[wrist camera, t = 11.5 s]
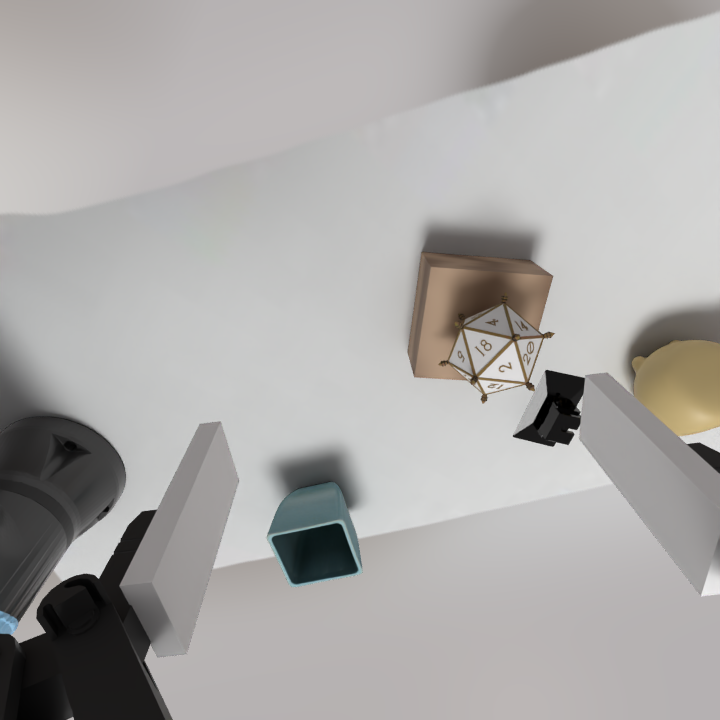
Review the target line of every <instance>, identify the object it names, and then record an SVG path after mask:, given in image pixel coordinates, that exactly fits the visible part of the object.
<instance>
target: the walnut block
mask: <svg viewBox="0 0 720 720" xmlns="http://www.w3.org/2000/svg"><path fill="white" fill-rule="evenodd" d="M552 278H553V276H552V275H551V274H549V273H548V272H547V271H545V270H544V269H542V268H541V267H539V266H538V265H537V264H535V263H534V262H532V261H531V260H521V259H507V258H494V257H481V256H468V255H455V254H441V253H428V252H422V253H421V261H420V268H419V275H418V282H417V289H416V296H415V303H414V311H413V318H412V325H411V332H410V339H409V346H408V356H409V359H410V363H411V367H412V370H413V374H414V377H419V378H436V379H452V380H466V379H465V378H464V377H463V376H462V375H461V374H459V373H458V372H457V371H456V370H455V369H454V368H452V367H451V366H450V365H449V364H447V365H446V366H440V365H438V364H439V363H440V362H441V361H444V360H445V361H447V360H448V357H449V355H450V352H451V350H452V347H453V345H454V342H455V340H456V337H457V334H458V332H459V329H460V328H459V329H458V328H457V327H455V323H454V322H458V321H459V322H461V323H462V322H463V320H460V319H459V315H458V313H459V314H464V316H465V318H467V317H469V316H472V315H474V314H476V313H479V312H481V311H483V310H485V309H488V308H490V307H492V306H495V305H497V304H499V303H501V302H502V295H503V294H504V293H505V292H506V293H507V296H508V298H507V301H506V304H507V305H508V306H510V307H511V308H512V309H513V310H514V311H515V312H517V313H518V314H519V315H520V316H521V317H523V318H524V319H525V320H526V321H527V322H528V323H530V324H531V325H532V326H533V327H534V328H535V329H537V330H539V326H540V322H541V319H542V315H543V311H544V308H545V304H546V300H547V297H548V293H549V289H550V286H551V282H552Z"/></svg>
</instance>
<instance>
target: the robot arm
mask: <svg viewBox="0 0 720 720" xmlns="http://www.w3.org/2000/svg"><path fill="white" fill-rule="evenodd" d="M579 439H580V441H581V442H582V443H583V445H584V446H585V447H586V448H587V450H588V451H589V452H590V454H591V455H592V456H593V458H594V459H595V460H596V461H597V463H598V464H599V465H600V467H601V468H602V469H603V470H604V472H605V473H606V474H607V476H608V477H609V478H610V479H611V481H612V482H613V483H614V485H615V486H616V487H617V489H618V490H619V491H620V492H621V494H622V495H623V496H624V498H625V499H626V500H627V501H628V503H629V504H630V505H631V507H632V508H633V509H634V510H635V512H636V513H637V514H638V516H639V517H640V518H641V519H642V521H643V522H644V523H645V525H646V526H647V527H648V528H649V530H650V531H651V532H652V534H653V535H654V536H655V538H656V539H657V540H658V541H659V543H660V544H661V545H662V547H663V548H664V549H665V551H666V552H667V553H668V554H669V556H670V557H671V558H672V560H673V561H674V562H675V563H676V565H677V566H678V567H679V569H680V570H681V571H682V573H683V574H684V575H685V576H686V578H687V579H688V580H689V581H690V583H691V584H692V585H693V587H694V588H695V589H696V591H697V592H698V593H699V594H700V596H708V595H717V594H720V453H719V452H717V451H715V450H713V449H711V448H709V447H707V446H705V445H703V444H701V443H692V444H686V443H685V442H684V441H683V440H681V439H680V438H679V437H678V436H677V435H676V434H675V433H674V432H673V431H671V430H670V429H669V428H668V427H667V426H666V425H665V424H664V423H663V422H661V421H660V420H659V419H658V418H657V417H656V416H655V415H654V414H653V413H652V412H650V411H649V410H648V409H647V408H646V407H645V406H644V405H643V404H642V403H640V402H639V401H638V400H637V399H636V398H635V397H634V396H633V395H632V394H630V393H629V392H628V391H627V390H626V389H625V388H624V387H623V386H622V385H620V384H619V383H618V382H617V381H616V380H615V379H614V378H613V377H612V376H611V375H609V374H608V373H599V374H592V375H585V384H584V394H583V404H582V413H581V423H580V433H579ZM125 480H126V477H125V470H124V467H123V464H122V461H121V459H120V458H119V456H118V454H117V453H116V451H115V450H114V449H113V448H112V446H111V445H110V444H109V443H108V442H107V441H105V440H104V439H103V438H102V437H101V436H99V435H98V434H97V433H95V432H93V431H92V430H90V429H88V428H86V427H84V426H82V425H80V424H78V423H75V422H72V421H69V420H65V419H61V418H55V417H32V418H27V419H23V420H20V421H17V422H15V423H13V424H11V425H10V426H8V427H7V428H6V429H5V430H3V431H2V432H1V433H0V720H67V719H69V718H71V717H74V720H173V719H172V717H171V715H170V713H169V711H168V709H167V707H166V705H165V703H164V700H163V698H162V696H161V694H160V692H159V690H158V688H157V686H156V683H155V681H154V679H153V677H152V675H151V673H150V671H149V669H148V666H147V665H146V663H145V661H144V659H145V657H146V654H147V651H148V649H149V646H150V644H151V646H152V648H153V650H154V652H155V654H156V656H157V657H166V656H174V655H184V654H187V651H188V648H189V645H190V641H191V638H192V635H193V631H194V628H195V625H196V621H197V618H198V615H199V611H200V608H201V605H202V602H203V598H204V594H205V592H206V588H207V585H208V582H209V578H210V575H211V572H212V568H213V565H214V562H215V559H216V555H217V552H218V549H219V545H220V542H221V539H222V535H223V532H224V529H225V525H226V522H227V519H228V516H229V512H230V509H231V506H232V502H233V499H234V496H235V492H236V489H237V486H238V482H239V478H238V475H237V472H236V469H235V466H234V462H233V459H232V456H231V453H230V450H229V447H228V443H227V440H226V437H225V434H224V431H223V428H222V424H221V421H220V422H212V423H204V424H200V425H199V427H198V429H197V431H196V433H195V435H194V437H193V439H192V441H191V443H190V445H189V447H188V449H187V451H186V453H185V455H184V457H183V459H182V461H181V463H180V465H179V467H178V469H177V471H176V473H175V475H174V477H173V479H172V481H171V483H170V485H169V487H168V489H167V491H166V493H165V495H164V497H163V499H162V501H161V503H160V505H159V507H158V509H157V510H150V511H142V512H141V513H140V514H139V515H138V516H137V517H136V518H135V519H134V520H133V521H132V522H131V523H130V524H129V525H128V527H127V529H126V531H125V532H124V534H123V536H122V538H121V542H120V543H118V545H117V547H116V549H115V551H114V555H112V556H111V558H110V560H109V562H108V563H107V565H106V567H105V569H104V571H103V572H102V574H101V576H100V578H99V579H98V578H97V577H96V576H95V575H91V574H81V575H76V576H73V577H71V578H69V579H67V580H65V581H63V582H61V583H60V584H59V585H57V586H56V587H55V588H53V589H52V590H51V591H50V592H49V593H48V594H47V595H46V596H45V597H44V598H43V600H42V601H41V603H40V605H39V607H38V609H37V617H36V618H37V620H38V622H39V623H40V625H41V626H42V627H43V629H44V630H45V632H46V633H44V634H42V635H39V636H37V637H34V638H32V639H29V640H27V641H24V642H22V643H18V642H17V641H16V639H15V638H14V637H13V636H11V634H13V632H14V631H15V630H16V629H17V626H18V623H19V621H20V620H21V618H22V617H23V615H24V614H25V612H26V611H27V609H28V608H29V606H30V604H31V603H32V601H33V600H34V598H35V597H36V595H37V594H38V592H39V591H40V589H41V588H42V586H43V585H44V583H45V582H46V580H47V579H48V577H49V576H50V574H51V573H52V571H53V570H54V568H55V567H56V565H57V564H58V562H59V561H60V559H61V558H62V556H63V555H64V553H65V552H66V550H67V549H68V547H69V546H70V544H71V543H72V542H73V541H74V540H75V539H77V538H78V537H79V536H81V535H82V534H83V533H84V532H86V531H87V530H88V529H90V528H91V527H92V526H93V525H95V524H96V523H97V522H98V521H100V520H101V519H102V518H104V517H105V516H106V515H107V514H108V513H109V512H110V511H111V510H112V509H113V507H114V506H115V504H116V502H117V501H118V499H119V498H120V496H121V494H122V493H123V490H124V487H125Z"/></svg>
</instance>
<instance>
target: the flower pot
mask: <svg viewBox="0 0 720 720" xmlns="http://www.w3.org/2000/svg"><path fill="white" fill-rule="evenodd" d="M267 540H268V542H269V544H270V546H271V548H272V550H273V552H274V554H275V557H276V558H277V560H278V562H279V565H280V567H281V569H282V571H283V573H284V575H285V577H286V580H287V581H288V584H289V585H290V586H291V587H299V586H304V585H309V584H313V583H318V582H323V581H328V580H334V579H339V578H345V577H350V576H355V575H359V574H361V573H363V570H362V564H361V557H360V550H359V544H358V538H357V534H356V531H355V528H354V525H353V523H352V520H351V517H350V514H349V512H348V509H347V506H346V503H345V501H344V498H343V494H342V492H341V489H340V488H339V486H338V485H337V484H336V483H334V482H327V483H323V484H319V485H315V486H310V487H305V488H300V489H297V490H296V491H294V492H292V493H291V494H289V495H288V496H287V497H286V498H285V499H284V500H283V501H282V502H281V504H280V505H279V507H278V509H277V511H276V514H275V516H274V519H273V521H272V524H271V527H270V529H269V532H268V535H267Z"/></svg>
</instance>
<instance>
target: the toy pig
mask: <svg viewBox="0 0 720 720" xmlns="http://www.w3.org/2000/svg"><path fill="white" fill-rule="evenodd" d="M632 366H633V369H634V371H635V373H636V377H635V381H634V397H635V398H636V399H637V400H638V401H639V402H640V403H642V404H643V405H644V406H645V407H646V408H647V409H648V410H649V411H650V412H652V413H653V414H654V415H655V416H656V417H657V418H658V419H659V420H660V421H661V422H663V423H664V424H665V425H666V426H667V427H668V428H669V429H670V430H671V431H673V432H674V433H675V434H676V435H677V436H685V435H691V434H696V433H700V432H703V431H707V430H710V429H713V428H716V427H719V426H720V344H719V343H716V342H711V341H706V340H685V341H679V340H673V341H671V342H670V343H669V344H668V345H666V346H663V347H661V348H659V349H658V350H656V351H655V352H653V353H652V354H651V355H650V356H648V357H647V358H644V357H641V356H638V357H635V358H634V359H633V361H632Z"/></svg>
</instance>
